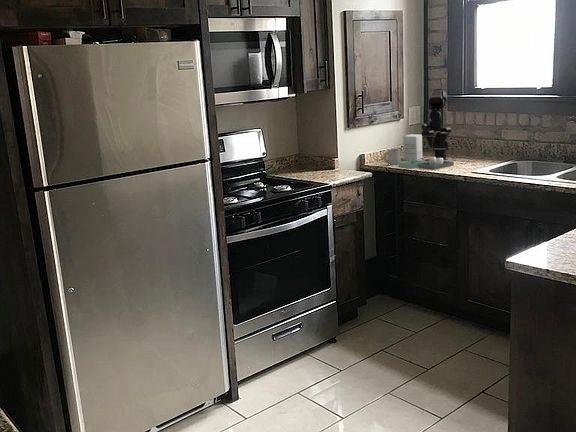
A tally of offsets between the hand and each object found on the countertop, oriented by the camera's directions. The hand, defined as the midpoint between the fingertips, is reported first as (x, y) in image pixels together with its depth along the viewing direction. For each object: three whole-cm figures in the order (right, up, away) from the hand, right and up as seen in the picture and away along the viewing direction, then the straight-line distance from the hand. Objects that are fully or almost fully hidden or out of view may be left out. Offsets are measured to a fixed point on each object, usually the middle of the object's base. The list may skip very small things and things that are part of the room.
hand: (436, 146), depth 357 cm
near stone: (+2, -11, +2) cm, 12 cm away
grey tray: (+1, -11, +5) cm, 12 cm away
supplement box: (-6, -4, +38) cm, 39 cm away
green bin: (-12, -11, +11) cm, 19 cm away
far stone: (-1, -10, +7) cm, 12 cm away
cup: (-22, -9, +23) cm, 33 cm away
